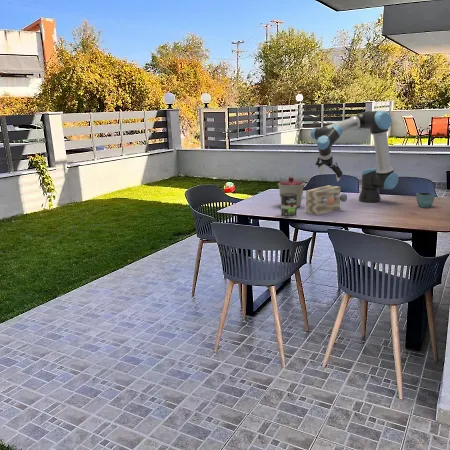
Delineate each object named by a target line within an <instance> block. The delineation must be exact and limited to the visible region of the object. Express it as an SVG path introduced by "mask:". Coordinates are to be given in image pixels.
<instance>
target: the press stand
mask: <svg viewBox="0 0 450 450" xmlns="http://www.w3.org/2000/svg"><path fill="white" fill-rule="evenodd" d="M341 189H342V188H341V186H337V185H329V184H328V185H324V186H319V187H315V188H312V189H307V190H306V191H305V213H306V214H309V215H310V214H311V215H315V216H320V215H323V214H327V213H330V212H333V211H337V210H339V209H341V200H340V199H335V198H334V195H340V196H341ZM329 197H333V198H334V199H335V202H334V204H333V205H328V203H327V202H321V198H325V199H328V198H329Z"/></svg>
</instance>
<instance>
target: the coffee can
mask: <svg viewBox="0 0 450 450" xmlns="http://www.w3.org/2000/svg"><path fill="white" fill-rule="evenodd" d="M297 208H298V207H297V194H294V193H284V194H281V199H280V217H281V216H282V218H285V217H292V218H296V217H297V216H298V215H297Z"/></svg>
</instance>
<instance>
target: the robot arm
mask: <svg viewBox="0 0 450 450" xmlns="http://www.w3.org/2000/svg"><path fill="white" fill-rule="evenodd" d="M392 121H393V120H392V116H391V115H390V113H389V112H387V111H385V110H367V111H363V112H359V113H358V114H354V115H351V117H350V118H346V119H344V120H340V121H337V122H334V123H331V124H328V125H325V126H322V127H313V128H312V130H311V131H310V138H311V139H313V140H314V141H315V140H316V146H317V149H318V154H319V156H318V157H317V160H316V163H315V166H317V167H318V169H319V173H320V174H323V172H324V166H326V167H328V169H331V170H332V171H333V172H334V174H335V178H336V182H339V181H340V180H341V177H342V176H343V174H344V173H343V171H342V170H341V168H340V167H339V165H338V163H337V162H335V163H334V162H333V160H334V157H333V154H332V153H333V152H332V146H333V145H334V144H335V143H336V142H337V141H338V140H339V139H340V137H341V136H342V135H343V134H344V133H345V132H346V133H347V132H348V131H352V130H355V131H356V130H360V129H362V130H369V132H370V134H371V135H372V136H373V143H374V150H375V158H376V160H375V161H376V164H377V165H376V166H377V168H376V167H375V168H365V169H363V170H362V174H361V190H360V193H359V195H358V201H359V202H361V203H362V202H363V203H379V202H381V195H380V191H379V189H385V190H392V189H394V188H395V187H396V186H397V185H398V182H399V174H398V173H397V172H395V170H394V167H392V165H391V158H390V149H389V148H390V147H389V140H388V134H387V133H388V132H389V129H390V127H391V126H392Z"/></svg>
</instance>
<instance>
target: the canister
mask: <svg viewBox="0 0 450 450" xmlns="http://www.w3.org/2000/svg"><path fill="white" fill-rule="evenodd" d="M304 183H305V182H304V181H301V180H298V179H294V176H289V177H288V179H287V180H286V179H285V180H282V181H280V182H278V183H277V185H278V189H279V190H278V191H279V197H280V200H281V194H284V193H294V194H297V208H299V207H300V206H301V203H302V199H303V198H302V197H303V194H302V192H303V193H304V189H303V185H304ZM304 186H305V185H304Z"/></svg>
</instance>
